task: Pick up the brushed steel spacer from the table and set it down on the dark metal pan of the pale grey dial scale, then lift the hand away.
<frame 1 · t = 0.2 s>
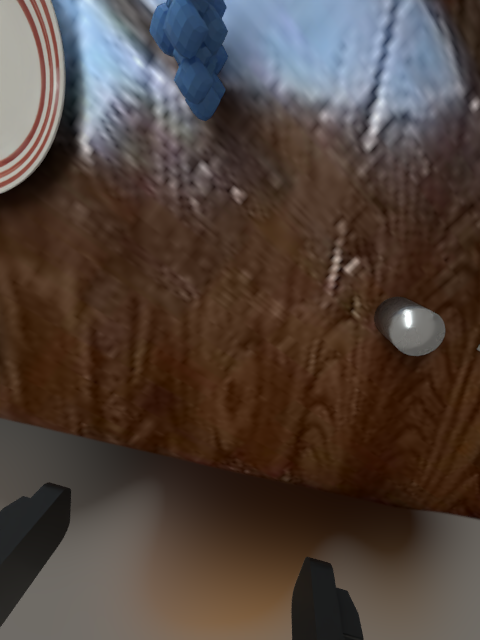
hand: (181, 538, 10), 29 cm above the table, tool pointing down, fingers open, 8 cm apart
steel spacer: (395, 316, 35), on the table
grapes: (205, 69, 31), on the table
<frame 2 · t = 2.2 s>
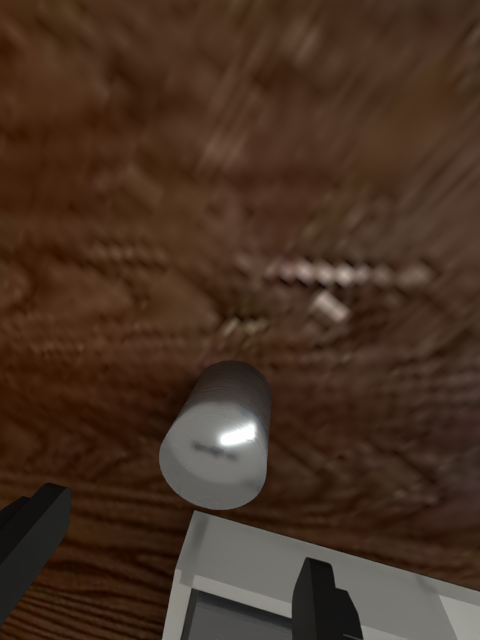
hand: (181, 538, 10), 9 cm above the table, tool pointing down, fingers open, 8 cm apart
steel spacer: (233, 395, 19), on the table
scale: (310, 632, 24), on the table
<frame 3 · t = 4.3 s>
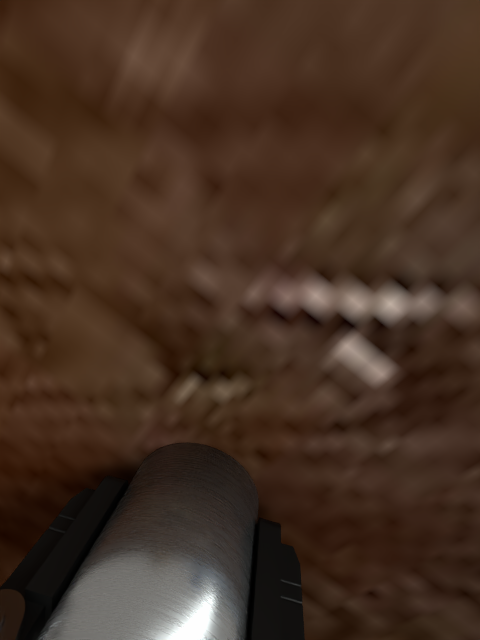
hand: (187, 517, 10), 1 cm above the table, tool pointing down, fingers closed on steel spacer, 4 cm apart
steel spacer: (195, 496, 11), on the table, touching gripper
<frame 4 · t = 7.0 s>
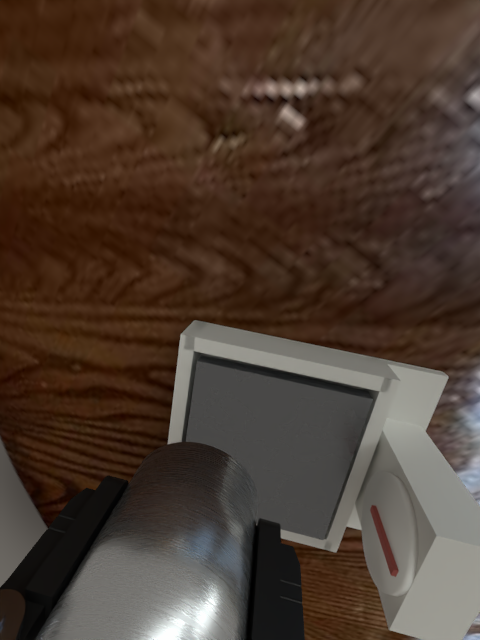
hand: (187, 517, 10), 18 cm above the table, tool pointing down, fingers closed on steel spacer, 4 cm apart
steel spacer: (195, 495, 11), point 17 cm above the table, touching gripper
scale: (292, 429, 29), on the table
scale pan: (264, 451, 25), point 4 cm above the table, slide at -0.5 cm
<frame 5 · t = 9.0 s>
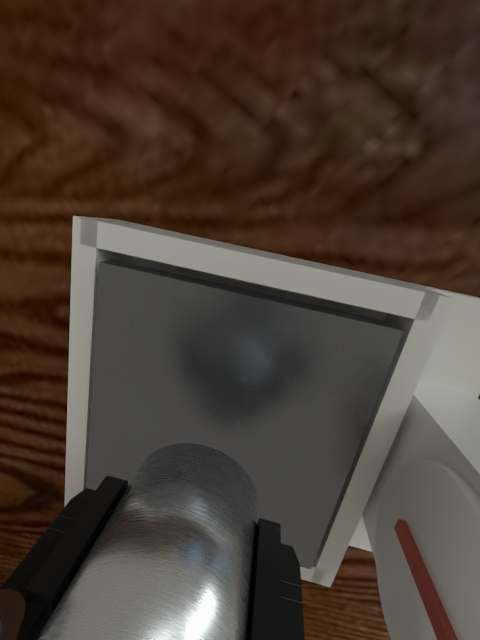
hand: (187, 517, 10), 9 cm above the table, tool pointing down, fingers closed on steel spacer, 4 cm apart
steel spacer: (195, 496, 11), point 8 cm above the table, touching gripper
scale: (268, 398, 19), on the table
scale pan: (219, 425, 16), point 4 cm above the table, slide at -0.5 cm
when the fingers open (7 cm above the table, at t = 10.4 s): steel spacer drops 2 cm, resting on scale pan.
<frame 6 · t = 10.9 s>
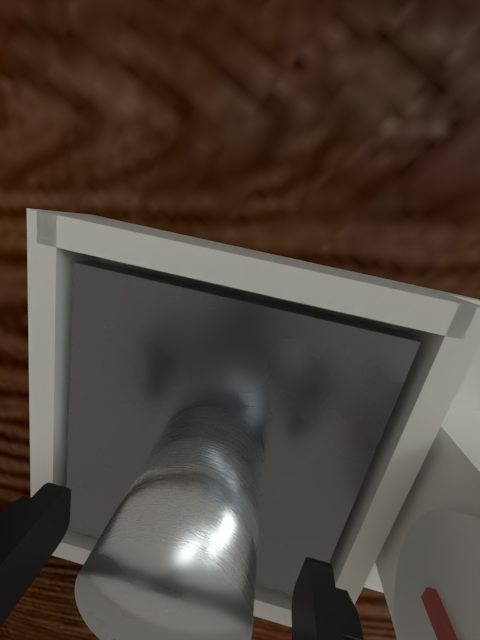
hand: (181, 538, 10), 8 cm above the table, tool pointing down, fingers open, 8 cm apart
steel spacer: (210, 453, 13), point 4 cm above the table, touching scale pan
scale: (266, 419, 17), on the table
scale pan: (211, 445, 14), point 3 cm above the table, slide at -1.3 cm, touching steel spacer
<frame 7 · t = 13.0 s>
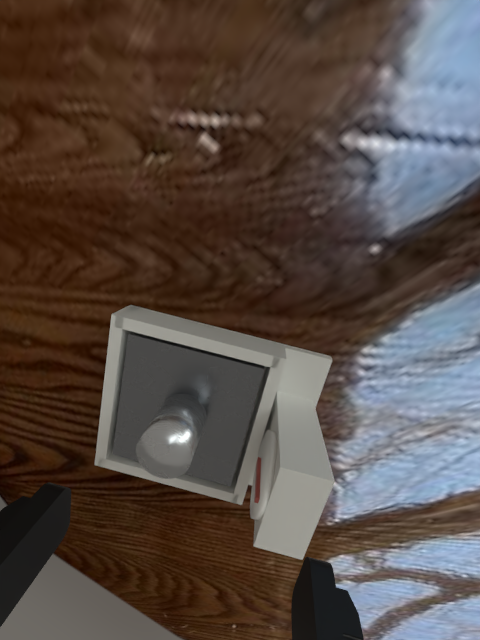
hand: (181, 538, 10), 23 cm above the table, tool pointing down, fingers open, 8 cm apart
steel spacer: (183, 414, 31), point 4 cm above the table, touching scale pan
scale: (212, 402, 34), on the table
scale pan: (184, 411, 31), point 3 cm above the table, slide at -1.4 cm, touching steel spacer
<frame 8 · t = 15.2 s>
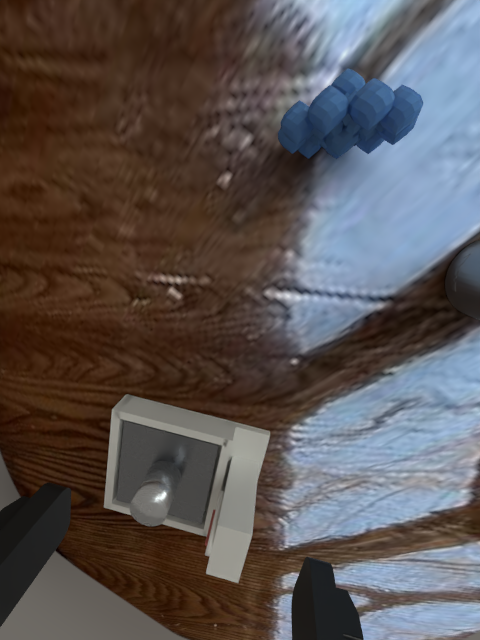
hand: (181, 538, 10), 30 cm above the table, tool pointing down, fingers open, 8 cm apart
steel spacer: (164, 474, 43), point 4 cm above the table, touching scale pan
grapes: (332, 135, 32), on the table
scale: (188, 460, 47), on the table
scale pan: (165, 471, 44), point 3 cm above the table, slide at -1.4 cm, touching steel spacer
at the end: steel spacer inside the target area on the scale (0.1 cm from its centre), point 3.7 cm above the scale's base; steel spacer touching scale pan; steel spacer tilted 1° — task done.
